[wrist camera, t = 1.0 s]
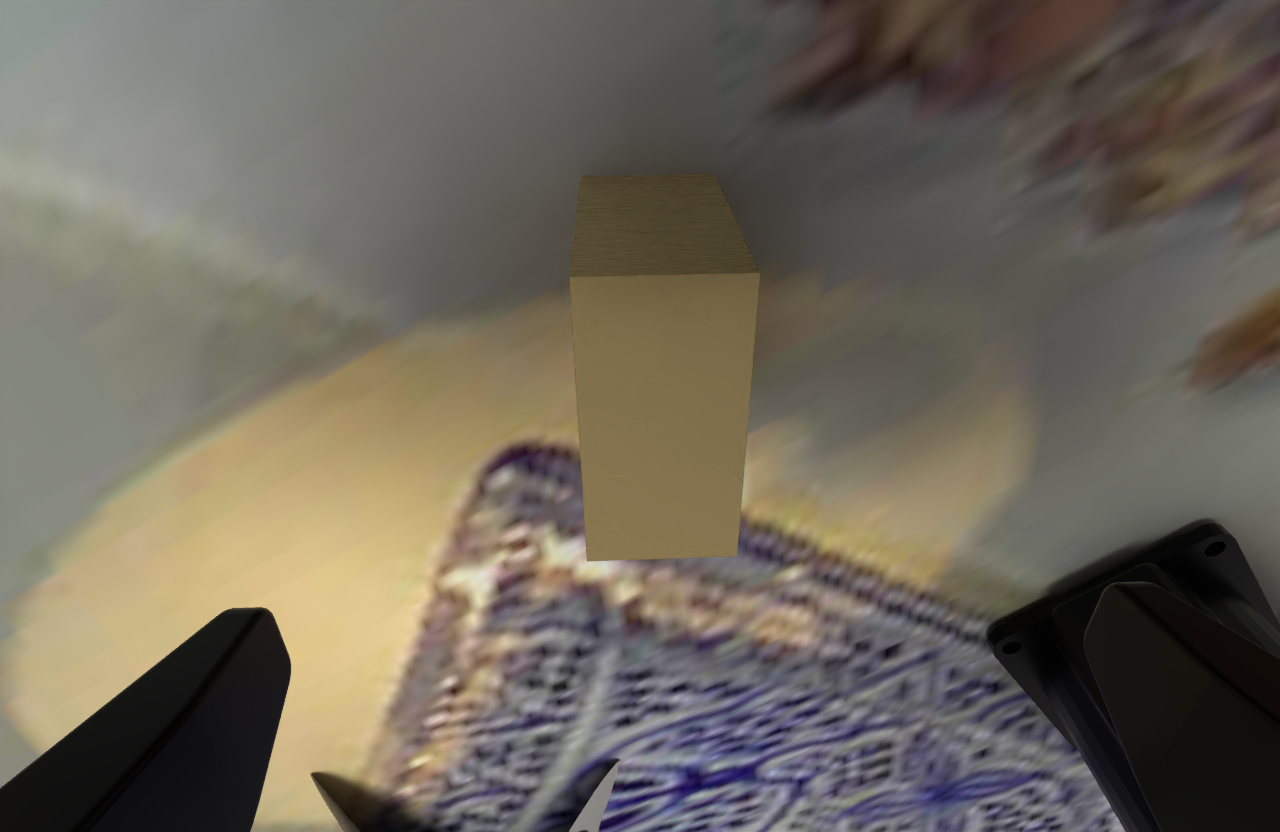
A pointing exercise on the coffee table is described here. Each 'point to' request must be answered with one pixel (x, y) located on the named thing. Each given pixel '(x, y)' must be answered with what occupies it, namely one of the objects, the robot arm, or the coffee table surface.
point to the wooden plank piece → (661, 365)
